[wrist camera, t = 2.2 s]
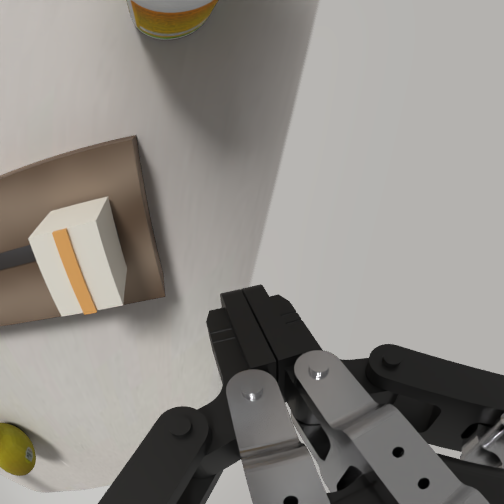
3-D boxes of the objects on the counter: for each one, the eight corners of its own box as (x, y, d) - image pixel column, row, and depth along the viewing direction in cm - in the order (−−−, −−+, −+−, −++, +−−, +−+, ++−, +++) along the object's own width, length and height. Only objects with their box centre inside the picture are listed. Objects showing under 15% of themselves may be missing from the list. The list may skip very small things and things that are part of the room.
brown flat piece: (-84, 217, 12) (-102, 232, 9) (136, 135, 18) (131, 139, 15) (-43, 315, 17) (-54, 335, 15) (163, 274, 23) (165, 298, 20)
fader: (50, 211, 15) (26, 239, 11) (108, 196, 16) (95, 222, 12) (74, 279, 17) (60, 318, 14) (127, 268, 18) (122, 307, 15)
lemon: (43, 447, 30) (41, 488, 23) (4, 437, 27) (-1, 476, 20) (26, 414, 26) (19, 463, 19) (-18, 401, 23) (-29, 447, 16)
